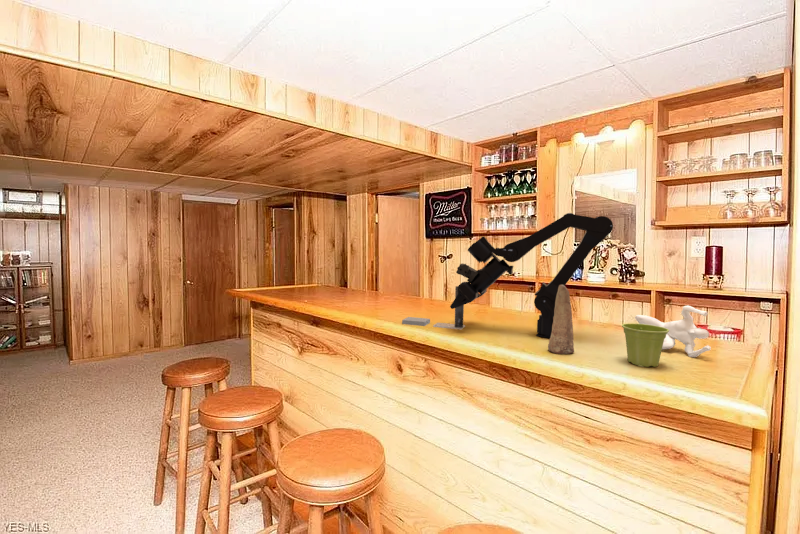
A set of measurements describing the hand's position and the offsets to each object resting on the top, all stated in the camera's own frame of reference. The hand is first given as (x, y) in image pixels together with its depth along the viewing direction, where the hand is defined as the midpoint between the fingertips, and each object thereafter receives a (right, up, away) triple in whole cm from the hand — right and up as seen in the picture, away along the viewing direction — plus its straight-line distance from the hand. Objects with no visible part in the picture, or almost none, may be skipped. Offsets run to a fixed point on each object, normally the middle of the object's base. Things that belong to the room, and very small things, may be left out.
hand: (454, 305), depth 130 cm
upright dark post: (-2, -7, +1) cm, 7 cm away
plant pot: (+39, -10, -37) cm, 55 cm away
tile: (-9, -6, +4) cm, 11 cm away
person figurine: (+54, -10, -24) cm, 60 cm away
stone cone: (+24, -9, -28) cm, 38 cm away
